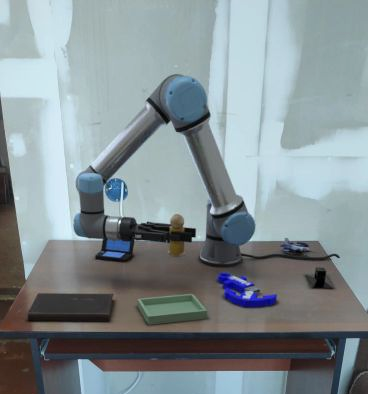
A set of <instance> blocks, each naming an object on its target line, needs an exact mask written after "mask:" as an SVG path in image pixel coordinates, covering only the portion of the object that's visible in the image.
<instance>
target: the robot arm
mask: <svg viewBox="0 0 368 394" xmlns="http://www.w3.org/2000/svg"><path fill="white" fill-rule="evenodd" d="M211 117H212V114H211V112H210V109H209V106H208V97H207V92H206V89H205V88H204V86H203V85H202V83H201V82H199V80H198V79H196V78H195V77H192V76H190V75H184V74H181V73H180V74H179V73H174V74H170V75H168V76H167V77H165V78H164V79H163V80H162V81H161V82H160V83H159V85H157V87H156V88H155V89H154V90H153V92H152V93H151V94H150V95H149V96H148V98H147V99H145V101H144V107H143V108H142V109H141V110H140V111H139V112H138V113H137V114H136V115H135V116H134V117H133V119H132V120H130V121H129V123H128V124H127V125H126V126H125V127H124V128H122V130H121V131H120V132H119V134H118V135H116V136H115V138H114V139H113V140H112V141H111V142H110V143H109V144H108V145H107V146H106V147H105V148H104V150H103V151H101V153H100V154H99V155H98V156H97V157H96V158H95V159H94V160H93V162H91V164H89V166H88V167H87V168H86V169H85V170H83V171H81V172H79V173H78V174H77V176H76V177H75V189H76V190H77V193H78V196H79V206H80V209H79V210H80V212H77V213H75V215H74V217H73V225H72V228H73V231H74V233H75V235H76V236H77V237H80V238H86V239H90V240H91V239H95V240H96V239H97V240H103V239H106V240H113V242H115V241H116V240H117V241H120V240H122V241H126V242H133V241H134V240H135V241H147V242H156V243H167V244H170V240H171V241H181V242H184V243H192V242H193V239H195V238H196V237H197V228H196V227H185V226H183V227H184V232H175V231H171V234H170V226H171V224H170V223H163V222H152V221H148V220H147V221H146V222H141V223H137V219H136V218H135V217H132V216H121V215H112V214H111V215H107V214H105V200H104V199H105V196H104V194H105V193H104V188H105V186H106V184H107V183H108V182H109V181H110V180H111V179H112V178H113V177H114V176H115V175H116V174H117V173H118V172H119V171H120V170H121V168H123V166H124V165H125V164H126V163H127V162H128V161H129V160H130V159H131V158H132V157H133V156H134V155H135V154H136V153H137V152H138V151H139V150H140V149H141V148H142V147H143V146H144V145H145V143H147V141H148V140H149V139H150V138H151V137H152V136H153V135H154V134H155V133H156V132H157V131H158V130H159V129H160V128H161V127H162V126H163V127H164V126H165V127H166V126H168V125H169V123H171V124H172V126H173V128H174V131H175V133H176V134H178V135H181V136H182V137H183V140H184V142H185V144H186V146H187V149H188V151H189V154H190V156H191V158H192V161H193V164H194V165H195V168H196V170H197V173H198V175H199V178H200V180H201V182H202V185H203V187H204V189H205V192H206V194H207V196H208V198H207V201H206V207H205V208H206V221H205V222H206V223H205V238H204V242H203V245H202V247H201V249H200V254H199V260H200V261H201V262H202V263H203V264H206V265H210V266H213V267H214V266H215V267H230V266H236V265H238V264H240V263H241V262H242V257H246V258H251V259H255V260H256V259H257V260H261V259H267V258H271V257H281V258H283V257H284V258H290V259H296V260H297V259H298V260H309V261H310V260H312V261H320V260H327V259H330V258H333V257H336V258H337V259H341V256H340V255H338V253H330V254H328V255H326V256H313V257H312V256H307V257H305V256H299V255H298V256H297V255H292V254H286V253H285V254H284V253H271V254H266V255H258V256H257V255H252V254H248V253H243V252H241V247H240V246H243V245H245V244H246V243H248V242H250V240H251V239H252V238H253V236H254V234H255V232H256V221H255V219H254V217H253V216H252V214H251V213H249V210H248V208H247V205H246V203H245V201H244V198H243V196H242V195H239V194H237V193H236V189H235V187H234V185H233V182H232V180H231V177H230V175H229V172H228V170H227V167H226V164H225V162H224V159H223V157H222V154H221V152H220V148H219V147H218V144H217V141H216V139H215V136H214V134H213V131H212V128H211V125H210V119H211ZM135 241H134V242H135Z"/></svg>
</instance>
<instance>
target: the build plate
mask: <svg viewBox="0 0 368 394" xmlns="http://www.w3.org/2000/svg"><path fill="white" fill-rule="evenodd" d="M305 277H306V279H307V281H308V283H309V287H310V288H311V289H317V290H318V289H319V290H321V289H323V290H333V289H334V287H333V285H332V283H331V282H330V279H329V278H328V275H327V269H326V268H325V267H324V266H323V267H320V266H319V267H317V266H316V267H315V270H314V274H305Z"/></svg>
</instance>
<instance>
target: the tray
mask: <svg viewBox="0 0 368 394" xmlns="http://www.w3.org/2000/svg"><path fill="white" fill-rule="evenodd" d="M137 308H138V310H139V312H140V313H141V315H142V317H143V318H144V321H145V322H146V324H147V325H148V326H150V325H160V324H169V323H178V322H189V321H198V320H207V318H208V317H207V315H208V310H207V309H206V307H204V305H203V304H202V303H201V302H200V301H199V299H198V298H197V297H196V296H195V295H194V293H187V294H175V295H165V296H155V297H154V296H153V297H144V298H137Z"/></svg>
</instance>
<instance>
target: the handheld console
mask: <svg viewBox="0 0 368 394" xmlns="http://www.w3.org/2000/svg"><path fill="white" fill-rule="evenodd" d="M135 241H136V240H134V241H133V242H126V241H122V240H120V241H117V240H116V241H115V242H113V240H106V239H102V242H101V248H100V250H99V252H97V253H96V254H95V257H94V258H95V259H99V260H106V261H116V262H127V261H129V260H131V258H132V257H133V256H134V253H133V252H134V247H135Z"/></svg>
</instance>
